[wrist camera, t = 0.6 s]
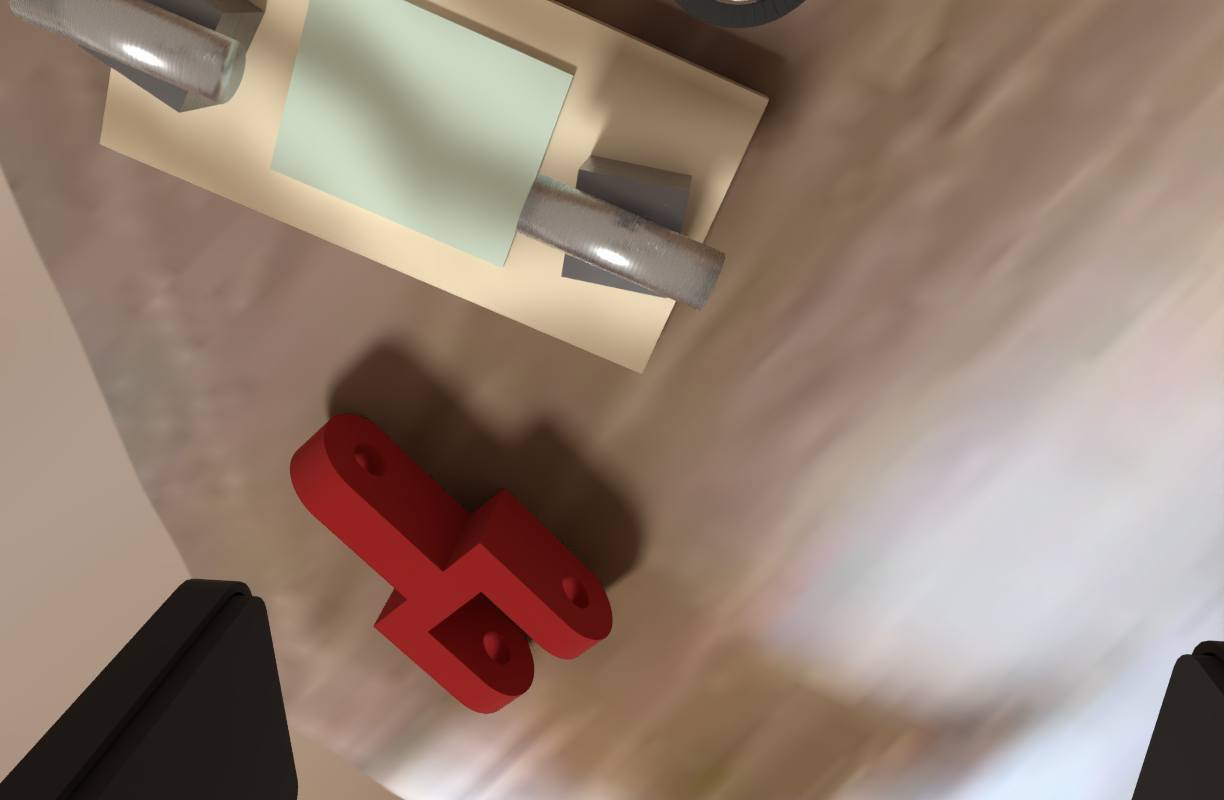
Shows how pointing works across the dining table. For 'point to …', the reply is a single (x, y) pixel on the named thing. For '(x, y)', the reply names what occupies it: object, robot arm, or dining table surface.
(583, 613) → the mechanical linkage
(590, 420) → the dining table surface
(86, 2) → the cylinder and cube
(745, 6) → the push button
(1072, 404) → the dining table surface
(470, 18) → the board
